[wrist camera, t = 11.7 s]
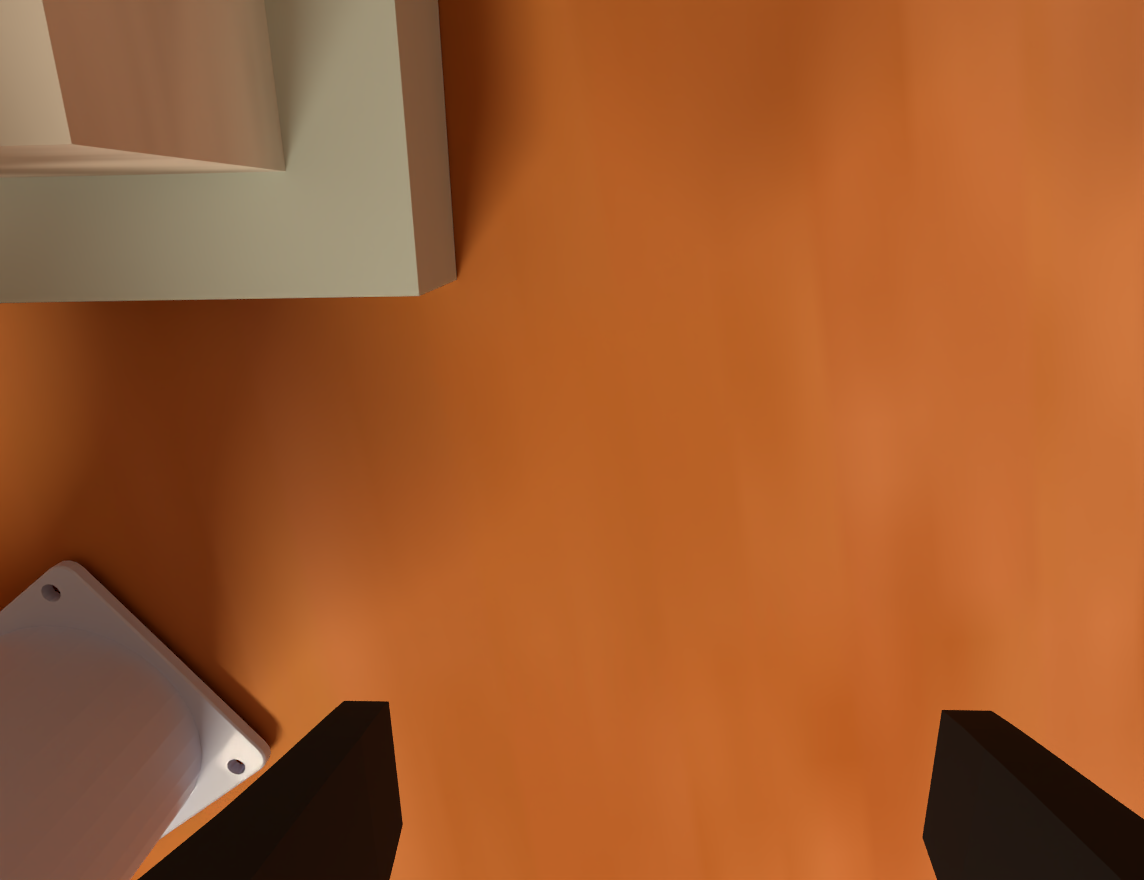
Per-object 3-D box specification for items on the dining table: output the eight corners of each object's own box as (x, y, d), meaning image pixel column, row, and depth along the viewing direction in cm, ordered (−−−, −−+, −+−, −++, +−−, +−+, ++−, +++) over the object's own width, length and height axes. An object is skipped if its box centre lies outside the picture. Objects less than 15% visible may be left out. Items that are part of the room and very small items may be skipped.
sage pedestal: (49, 286, 18) (-81, 304, 14) (-67, -217, 15) (-267, -343, 11) (456, 279, 17) (419, 295, 14) (421, -245, 14) (362, -387, 11)
